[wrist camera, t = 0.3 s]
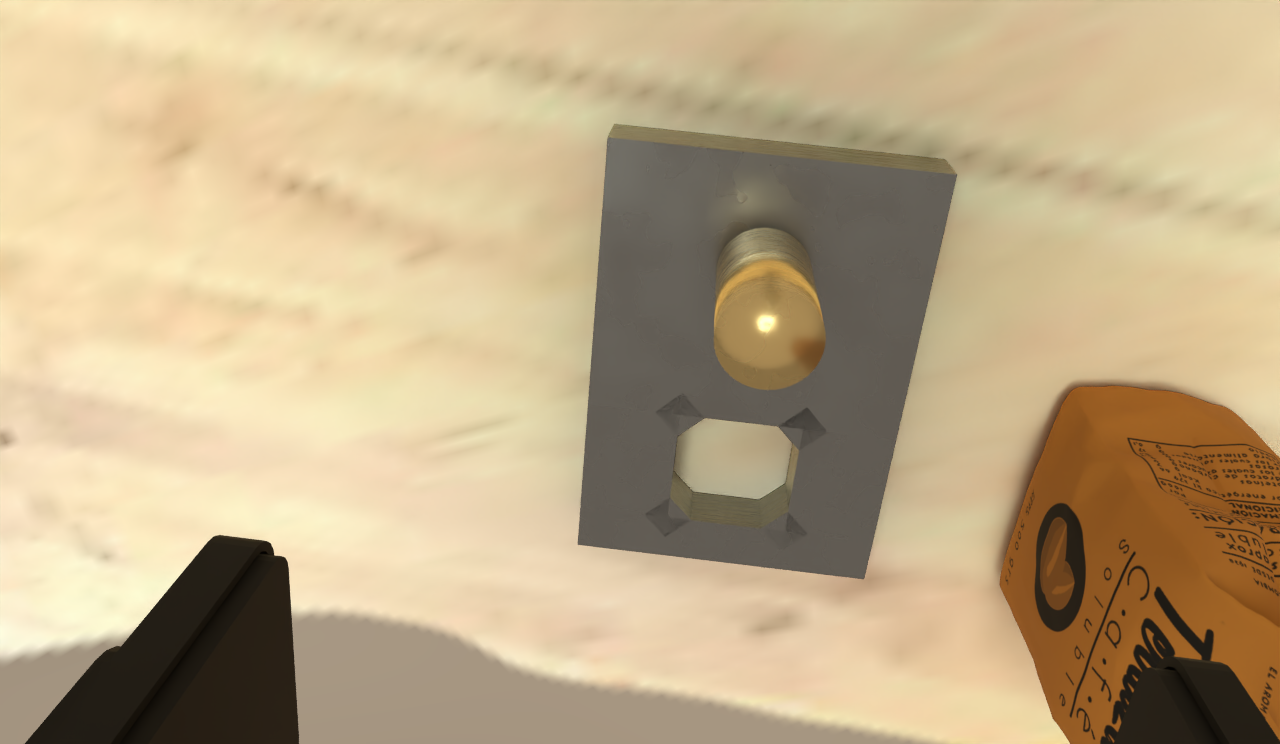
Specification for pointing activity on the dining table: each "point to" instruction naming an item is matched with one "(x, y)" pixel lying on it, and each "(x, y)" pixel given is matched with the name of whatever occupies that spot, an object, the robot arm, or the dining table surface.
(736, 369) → the brass cylinder peg
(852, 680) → the dining table surface
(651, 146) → the jig
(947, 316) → the dining table surface
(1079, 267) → the dining table surface
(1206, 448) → the coffee package
